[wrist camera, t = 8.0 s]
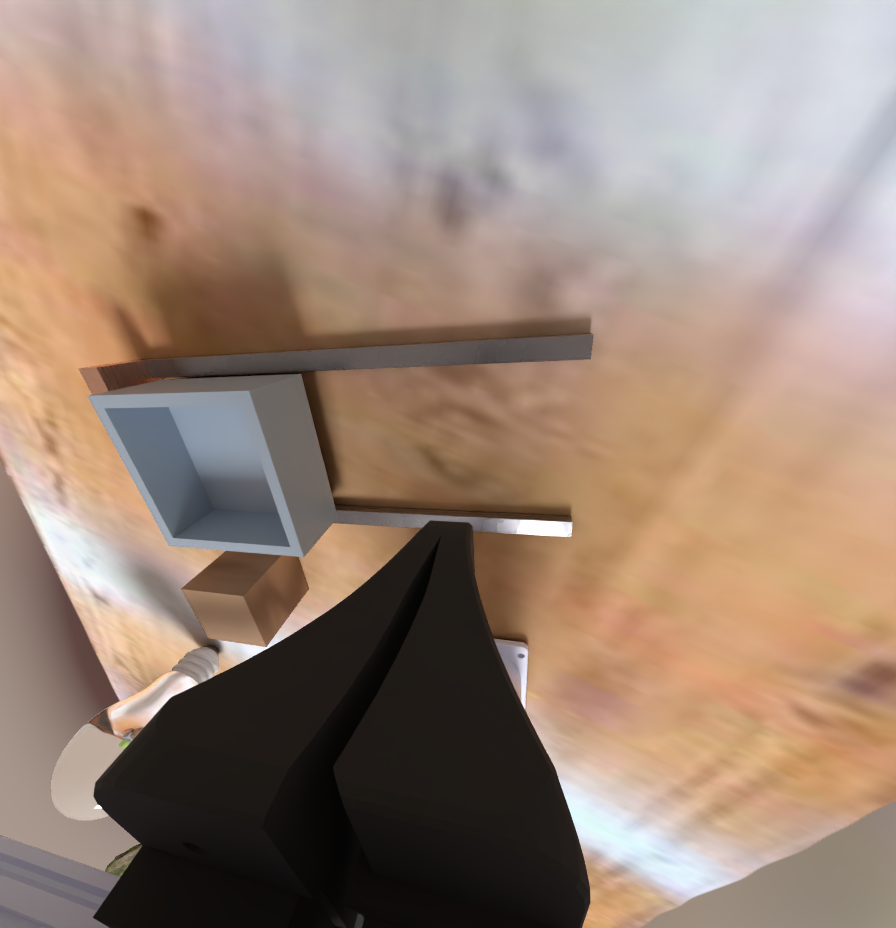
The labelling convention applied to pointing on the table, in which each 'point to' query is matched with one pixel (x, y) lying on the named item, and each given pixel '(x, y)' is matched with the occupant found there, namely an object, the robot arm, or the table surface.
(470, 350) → the rails
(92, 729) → the light bulb
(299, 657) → the robot arm
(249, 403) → the grey open tray bin
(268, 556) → the walnut block
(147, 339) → the table surface
